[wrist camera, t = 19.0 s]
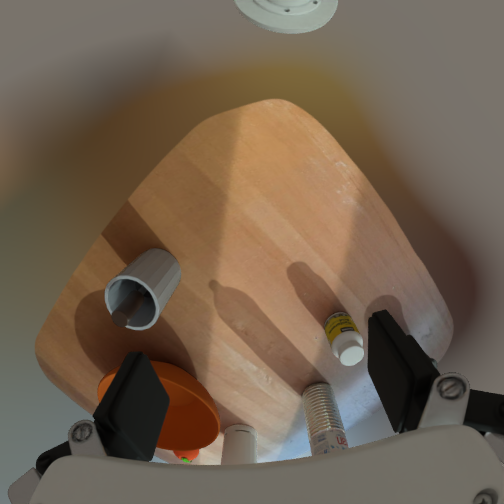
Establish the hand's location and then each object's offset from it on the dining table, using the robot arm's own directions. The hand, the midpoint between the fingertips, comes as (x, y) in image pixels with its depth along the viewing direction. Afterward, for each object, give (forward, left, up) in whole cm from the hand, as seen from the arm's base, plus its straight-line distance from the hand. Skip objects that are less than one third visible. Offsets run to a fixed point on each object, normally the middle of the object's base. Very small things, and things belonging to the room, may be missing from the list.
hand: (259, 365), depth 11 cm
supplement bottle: (+23, -9, -34) cm, 42 cm away
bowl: (+3, -41, -34) cm, 53 cm away
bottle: (+25, -47, -34) cm, 63 cm away
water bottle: (+31, -25, -34) cm, 52 cm away
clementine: (+16, -59, -34) cm, 70 cm away
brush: (-9, -17, -33) cm, 38 cm away
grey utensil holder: (-9, -17, -34) cm, 39 cm away
